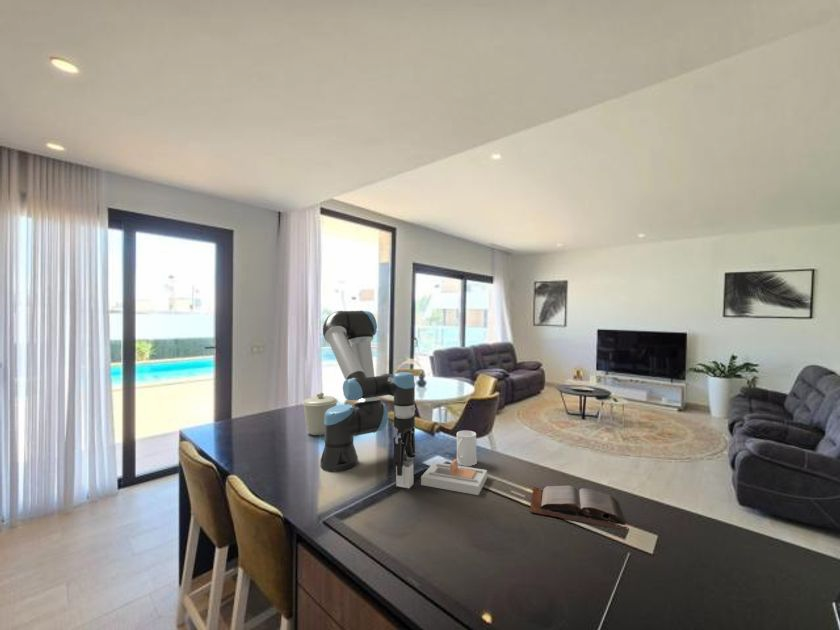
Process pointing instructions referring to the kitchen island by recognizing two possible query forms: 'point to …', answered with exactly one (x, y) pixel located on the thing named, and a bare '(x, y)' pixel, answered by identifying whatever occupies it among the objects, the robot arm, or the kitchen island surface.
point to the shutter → (460, 471)
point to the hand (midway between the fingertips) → (404, 479)
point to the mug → (466, 448)
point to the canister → (317, 412)
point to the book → (577, 505)
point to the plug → (407, 473)
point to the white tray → (453, 479)
